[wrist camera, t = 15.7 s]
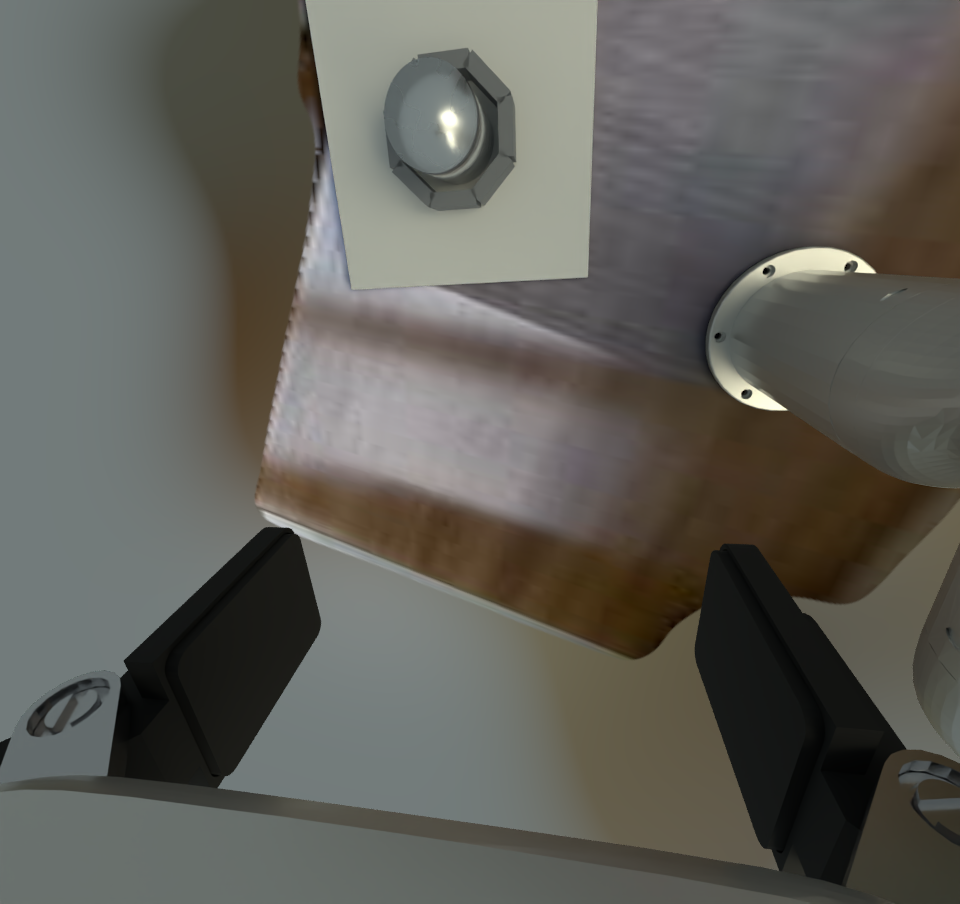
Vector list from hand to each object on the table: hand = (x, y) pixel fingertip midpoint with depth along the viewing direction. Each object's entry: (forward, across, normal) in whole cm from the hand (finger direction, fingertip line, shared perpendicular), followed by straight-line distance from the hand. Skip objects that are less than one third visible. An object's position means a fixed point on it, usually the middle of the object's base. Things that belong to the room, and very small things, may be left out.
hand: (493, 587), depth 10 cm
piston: (+31, +6, -15) cm, 35 cm away
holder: (+32, +6, -15) cm, 36 cm away
